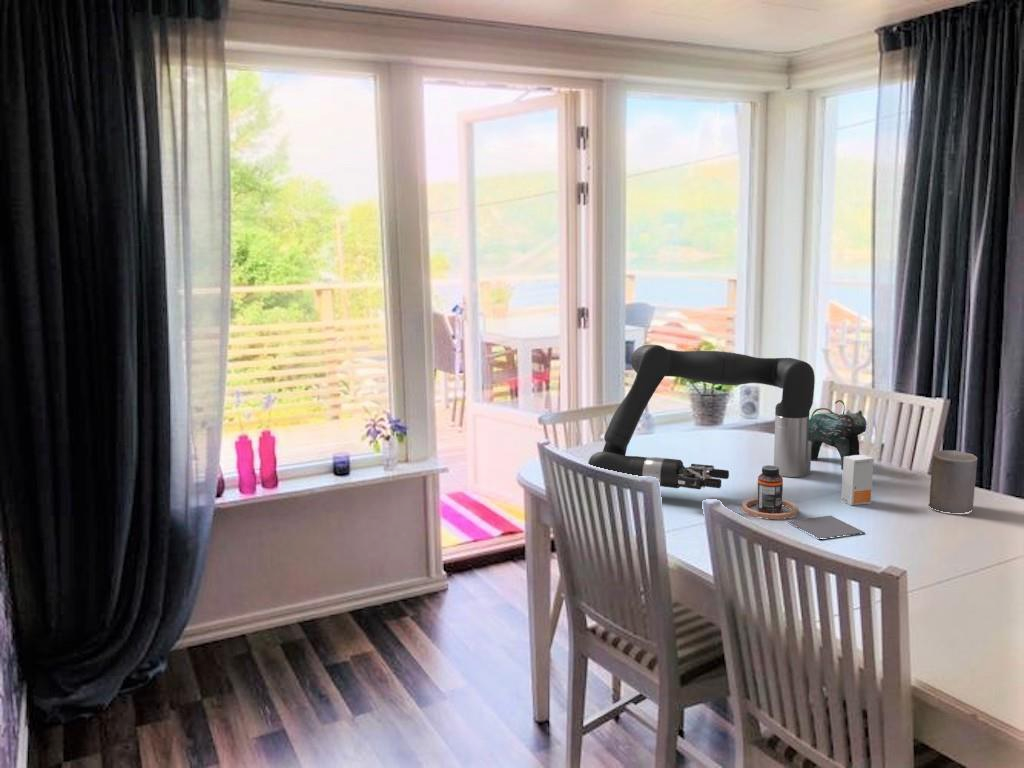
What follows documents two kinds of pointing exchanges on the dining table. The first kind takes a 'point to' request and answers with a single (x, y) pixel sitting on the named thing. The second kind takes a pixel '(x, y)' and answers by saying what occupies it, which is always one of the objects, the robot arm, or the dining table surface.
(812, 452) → the ceramic cat
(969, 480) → the pillar candle
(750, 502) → the wooden ring
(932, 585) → the dining table surface
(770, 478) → the supplement bottle
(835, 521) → the mat
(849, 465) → the skincare box
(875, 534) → the dining table surface
